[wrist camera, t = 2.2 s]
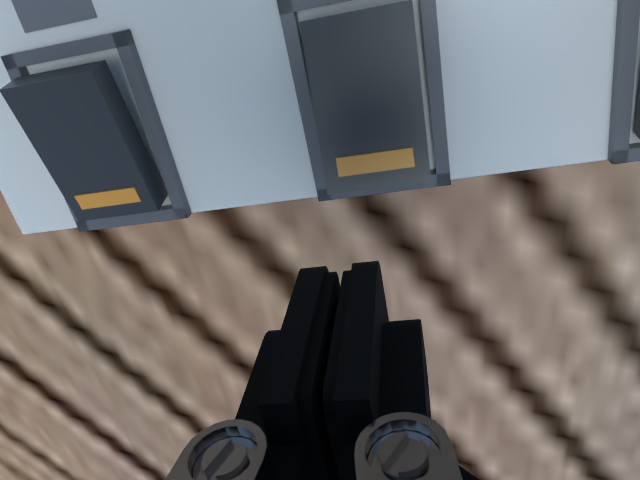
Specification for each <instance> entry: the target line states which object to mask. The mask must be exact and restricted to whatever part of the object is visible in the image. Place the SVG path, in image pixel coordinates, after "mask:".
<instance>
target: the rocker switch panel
mask: <svg viewBox="0 0 640 480" xmlns="http://www.w3.org/2000/svg"><path fill="white" fill-rule="evenodd" d="M402 1H407V0H0V89H1V88H2V87H4V86H5V85H7V84H8V83H10V82H11V81H12V80H14V79H15V78H17V77H21V76H26V75H31V74H36V73H41V72H46V71H51V70H56V69H61V68H66V67H72V66H77V65H82V64H87V63H92V62H97V61H102V60H106V62H107V65H108V67H109V69H110V71H111V73H112V75H113V78H114V80H115V82H116V84H117V86H118V88H119V91H120V93H121V95H122V97H123V99H124V101H125V104H126V106H127V108H128V110H129V112H130V114H131V117H132V119H133V121H134V123H135V125H136V127H137V130H138V132H139V134H140V136H141V138H142V140H143V143H144V145H145V147H146V149H147V151H148V153H149V156H150V158H151V160H152V162H153V164H154V166H155V169H156V171H157V173H158V175H159V177H160V179H161V182H162V184H163V186H164V188H165V190H166V192H167V197H166V199H165V201H164V203H163V204H162V206H161V208H160V210H159V211H155V212H148V213H140V214H133V215H125V216H117V217H110V218H102V219H94V220H87V221H78V219H77V218H76V216H75V214H74V213H73V211H72V209H71V208H70V206H69V205H68V203H67V201H66V200H65V198H64V196H63V195H62V193H61V191H60V190H59V188H58V186H57V185H56V183H55V181H54V180H53V178H52V176H51V175H50V173H49V172H48V170H47V168H46V167H45V165H44V163H43V162H42V160H41V158H40V157H39V155H38V153H37V152H36V150H35V148H34V147H33V145H32V144H31V142H30V140H29V139H28V137H27V135H26V134H25V132H24V130H23V129H22V127H21V125H20V124H19V122H18V120H17V119H16V117H15V116H14V114H13V112H12V111H11V109H10V107H9V106H8V104H7V102H6V101H5V99H4V97H3V96H2V94H1V92H0V190H1V192H2V194H3V196H4V198H5V200H6V202H7V204H8V206H9V208H10V210H11V212H12V214H13V216H14V218H15V220H16V222H17V224H18V226H19V228H20V230H21V232H22V234H30V233H38V232H46V231H54V230H62V229H69V228H77V227H78V229H79V232H81V231H88V230H96V229H104V228H112V227H120V226H128V225H136V224H144V223H152V222H160V221H168V220H175V219H183V218H188V217H189V216H190V214H191V213H194V212H202V211H210V210H217V209H225V208H233V207H241V206H249V205H256V204H264V203H272V202H280V201H288V200H295V199H303V198H311V197H318V200H319V201H326V200H334V199H342V198H350V197H357V196H365V195H373V194H381V193H389V192H397V191H405V190H413V189H421V188H429V187H437V186H445V185H451V179H459V178H467V177H475V176H483V175H490V174H498V173H506V172H514V171H521V170H529V169H537V168H545V167H553V166H560V165H568V164H576V163H584V162H592V161H599V160H607V159H608V160H609V161H610V162H611V163H612V164H619V163H627V162H634V161H640V139H639V138H638V137H637V136H636V134H635V133H634V132H633V128H634V122H635V116H636V110H637V104H638V98H639V92H640V0H412V1H413V11H414V20H415V30H416V39H417V49H418V59H419V68H420V78H421V87H422V97H423V106H424V116H425V125H426V135H427V144H428V154H429V164H430V173H431V181H428V182H420V183H412V184H405V185H397V186H389V187H381V188H374V189H366V190H358V191H350V192H342V193H335V194H328V193H327V187H326V181H325V175H324V169H323V163H322V157H321V151H320V145H319V139H318V133H317V127H316V121H315V115H314V109H313V103H312V97H311V90H310V84H309V78H308V72H307V66H306V60H305V54H304V48H303V42H302V36H301V30H300V24H299V22H301V21H306V20H311V19H316V18H321V17H326V16H331V15H336V14H341V13H347V12H352V11H357V10H362V9H367V8H372V7H377V6H382V5H387V4H392V3H397V2H402Z"/></svg>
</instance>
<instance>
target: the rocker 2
mask: <svg viewBox="0 0 640 480" xmlns="http://www.w3.org/2000/svg"><path fill="white" fill-rule="evenodd" d="M633 132H634V133H635V134H636V136H637V137H638V138H639V139H640V92H639V98H638V104H637V110H636V116H635V122H634V128H633Z"/></svg>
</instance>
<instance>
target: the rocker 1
mask: <svg viewBox="0 0 640 480" xmlns="http://www.w3.org/2000/svg"><path fill="white" fill-rule="evenodd" d="M0 92H1V94H2V96H3V97H4V99H5V101H6V102H7V104H8V106H9V107H10V109H11V111H12V112H13V114H14V116H15V117H16V119H17V120H18V122H19V124H20V125H21V127H22V129H23V130H24V132H25V134H26V135H27V137H28V139H29V140H30V142H31V144H32V145H33V147H34V148H35V150H36V152H37V153H38V155H39V157H40V158H41V160H42V162H43V163H44V165H45V167H46V168H47V170H48V172H49V173H50V175H51V176H52V178H53V180H54V181H55V183H56V185H57V186H58V188H59V190H60V191H61V193H62V195H63V196H64V198H65V200H66V201H67V203H68V205H69V206H70V208H71V209H72V211H73V213H74V214H75V216H76V218H77V219H78V221H87V220H94V219H102V218H110V217H117V216H125V215H133V214H140V213H148V212H155V211H159V210H160V208H161V206H162V204H163V203H164V201H165V199H166V197H167V192H166V190H165V188H164V186H163V184H162V182H161V179H160V177H159V175H158V173H157V171H156V169H155V166H154V164H153V162H152V160H151V158H150V156H149V153H148V151H147V149H146V147H145V145H144V143H143V140H142V138H141V136H140V134H139V132H138V130H137V127H136V125H135V123H134V121H133V119H132V117H131V114H130V112H129V110H128V108H127V106H126V104H125V101H124V99H123V97H122V95H121V93H120V91H119V88H118V86H117V84H116V82H115V80H114V78H113V75H112V73H111V71H110V69H109V67H108V65H107V62H106V60H102V61H97V62H92V63H87V64H82V65H77V66H72V67H66V68H61V69H56V70H51V71H46V72H41V73H36V74H31V75H26V76H21V77H17V78H15V79H14V80H12V81H11V82H10V83H8V84H7V85H5V86H4V87H2V88H1V89H0Z"/></svg>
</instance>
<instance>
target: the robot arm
mask: <svg viewBox="0 0 640 480" xmlns="http://www.w3.org/2000/svg"><path fill="white" fill-rule="evenodd" d="M165 480H479V479H477V478H476V477H474V476H473V475H472V474H470V473H469V472H468V471H466V470H465V469H463V468H462V467H461V466H459V465H458V463H457V459H456V456H455V453H454V450H453V446H452V443H451V440H450V438H449V437H448V435H447V433H446V431H445V429H444V428H442V427H441V426H440V425H439V424H438V423H437V422H436V421H435V420H433V419H431V411H430V398H429V386H428V375H427V365H426V356H425V348H424V340H423V332H422V325H421V319H416V320H403V321H390V322H389V319H388V313H387V306H386V300H385V294H384V288H383V281H382V275H381V269H380V264H379V261H372V262H362V263H353V264H352V269H351V270H350V271H343V275H342V281H341V287H340V283H339V278H338V274H337V272H329V271H328V269H327V267H326V266H322V267H313V268H303V269H300V271H299V274H298V277H297V280H296V283H295V286H294V289H293V293H292V296H291V299H290V302H289V305H288V309H287V312H286V315H285V318H284V321H283V324H282V328H281V330H274V331H268V332H267V333H266V334H265V336H264V339H263V341H262V344H261V347H260V350H259V353H258V356H257V358H256V361H255V364H254V367H253V370H252V373H251V375H250V378H249V381H248V384H247V387H246V390H245V392H244V395H243V398H242V401H241V404H240V407H239V409H238V412H237V415H236V418H235V420H226V421H222V422H219V423H215V424H213V425H211V426H209V427H208V428H206V429H204V430H202V431H201V432H200V433H198V434H197V435H196V436H195V437H194V438H192V439H191V441H190V442H189V443H188V444H187V446H186V447H185V448H184V449H183V451H182V453H181V454H180V456H179V458H178V459H177V461H176V463H175V464H174V466H173V468H172V469H171V471H170V473H169V474H168V476H167V478H166V479H165Z"/></svg>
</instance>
